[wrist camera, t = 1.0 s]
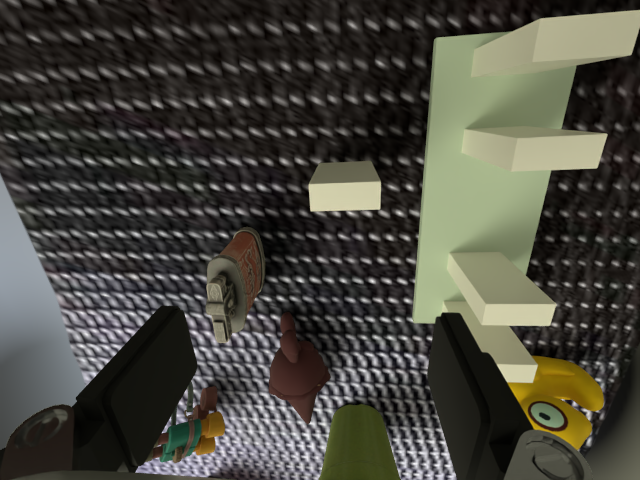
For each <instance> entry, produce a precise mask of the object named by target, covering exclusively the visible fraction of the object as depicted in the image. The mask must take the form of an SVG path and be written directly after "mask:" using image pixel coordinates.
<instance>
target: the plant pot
mask: <svg viewBox="0 0 640 480" xmlns="http://www.w3.org/2000/svg"><path fill="white" fill-rule="evenodd" d="M319 480H401V479H400V477H399V473H398V470H397V466H396V463H395V460H394V456H393V453H392V449H391V446H390V442H389V439H388V435H387V432H386V428H385V425H384V421H383V418H382V416H381V414H380V413H379V412H378V411H377V410H376V409H374V408H372V407H370V406H367V405H363V404H360V405H350V404H349V405H346V406H343V407H341V408H340V409H338V410H337V411H336V412H335V414H334V416H333V419H332V423H331V428H330V433H329V438H328V443H327V448H326V453H325V458H324V463H323V467H322V472H321V476H320V478H319Z"/></svg>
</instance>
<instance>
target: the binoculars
mask: <svg viewBox="0 0 640 480" xmlns="http://www.w3.org/2000/svg"><path fill="white" fill-rule="evenodd" d="M216 404H217V388H216V386H213V387H208V388H203V390H202V393H201V399H200V405H197V406H195V407H194V408H193V385H192V382H190V383H189V385H188V402H187V410H185V412H184V414H185V417H186V418H188V422H184V423H181V424H177V425H176V413H177V406H176V408H175V410H174V412H173V413H172V416H171V426H170V427H169V428H168V430H167V432H166V433H161V435H160V436H159V438H158V440H157V442H156V444H155V445H154V447H155V448H154V447H153V449H152V451H151V452H150V454H149V456H148V458H147V459H146V461H145V462H148V461H151V460H152V459H154V458H158V457H160V462H166V461H170V460H173V462H174V463H177V462H180V461H181V459H182V458H184V457H186V456H190V455H191V454H192V452H195V451H196V454H197V455H202V454H207V453H212V452H214V450H215V438H214V437H216V436H222V435H223V434H224V431H225V423H224V419H223V416H222V414H221V413H220V412H217V409H216ZM193 410H194V411H193ZM209 410H210V411H214V413H211V414H209ZM186 411H187V412H192V411H193V414H192V415H188V416H186ZM158 445H161V446H159V447H157V446H158Z"/></svg>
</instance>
